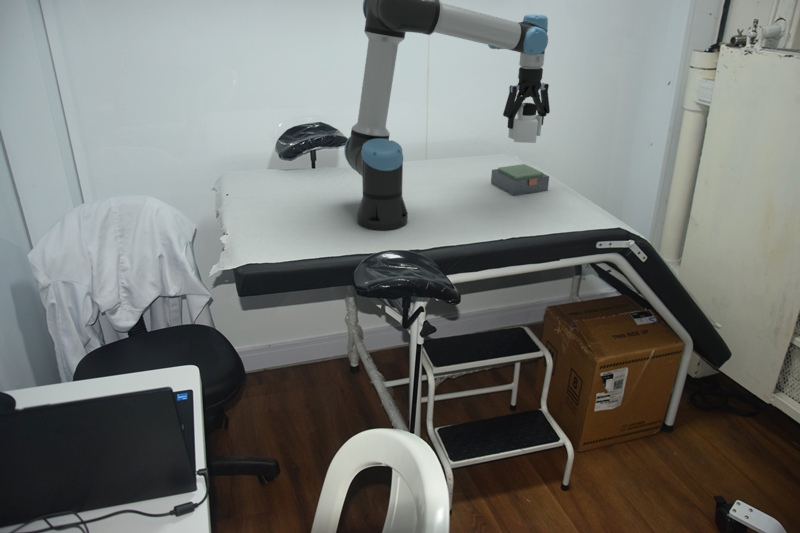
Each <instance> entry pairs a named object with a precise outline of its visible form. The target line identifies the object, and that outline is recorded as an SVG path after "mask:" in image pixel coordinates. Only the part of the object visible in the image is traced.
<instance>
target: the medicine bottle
mask: <svg viewBox="0 0 800 533" xmlns="http://www.w3.org/2000/svg"><path fill="white" fill-rule="evenodd" d="M536 115H537V106H536V105H535V104H534V102H533V103H532V102H523V103H522V105H521V106H520V108H519V110H518V112H517V114H516V116H515V119H517V120H516V131H515V139H513V142H514V143H526V144H527V143H532V144H535V143H536V142H537V137H538V136H537V127H538V121H537V118H536Z"/></svg>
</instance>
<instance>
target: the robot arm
mask: <svg viewBox="0 0 800 533" xmlns="http://www.w3.org/2000/svg"><path fill="white" fill-rule="evenodd" d="M362 12H363V15H364V18H365V25H364V31H363V32H364V34H365V35H366V37H367V38H368V43H367V47H366V48H367V50H366V58H365V65H364V73H363V77H362V78H363V80H362V86H361V95H360V102H359V109H358V116H357V117H358V118H357V123H355V124H354V125H353V126H352V127H351V132H350V136H349V137H348V138H347V139H346V140H345V141H346V142H345V144H344V151H343V152H344V157H345V159H346V161H347V163H348V166H350V167H351V169H353V170H354V171H356V172H357V173H358V174H359V175H360V176H361V178H362V181H361V182H362V198H361V201H360V204H359V207H358V210H357V214H356V219H357V221H356V222H357V224H358V225H359V226H361V227H363V228H365V229H366V228H367V229H370V230H377V231H389V230H395V229H399V228H401V227H404V226H405V225H406V224H407V223H408V222H409V214H408V210H407V207H406V204H405V201H404V198H403V174H404V173H403V171H404V170H403V168H404V166H403V165H404V154H403V148H402V146H401V144H399V143H398V142H397V141H394V140H392V139H391V140H389V139H390V131H389V130H388V129H387V121H388V113H389V108H390V102H391V101H390V100H391V95H392V89H393V88H392V87H393V81H394V74H395V68H396V61H397V55H398V49H399V44H400V43H401V42H403V41H404V40H405V37H406V33H415V34H416V33H417V34H422V35H427V36H431V35H432V34H434V33H437V34H441V35H444V36H448V37H454V38H458V39H462V40H466V41H470V42H474V43H478V44H484V45H487V46H488V48H490V49H491V50H492V49H493V50H509V51H513V52H517V53H520V55H519V63H518V64H519V68H518V76H517V77H518V82H517V83H518V84H516V85H509V86H508V88H509V90H508V96H507V100H506V103H505V107H504V110H503V113H502V115H503V117H504V118H507V129H508V136H507V137H508V138H509V139H511V140H514V139H515V131H516V120H517V119H515V116H517V113H518V110H519V108H520V106H521V105H522V103H524V101H526V99H527V98H530V97H531V98H532V101H533V104H535V105H536V106H537V110H536V118H537V121H538V127H537V136H536V137H540V136H541V132H542V131H541V130H542V126H543V125H544V120H545V118H544V117H546V116H547V115H548V114H550V113H551V110H550V109H551V108H550V101H549V87H550V84H549V83H545V82H541V81H542V79H543V73H544V69H543V67H544V63H545V52H546V49H547V46H548V43H549V36H548V31H549V30H548V26H549V25H548V24H549V19H548V16H547V15H546V14H537V13H536V14H534V13H533V14H531V13H530V14H525V15H524V16H523V19H522V21H520V22H517V21H513V20H509V19H505V18H501V17H498V16H494V15H489V14H486V13H482V12H479V11H474V10H471V9H467V8H463V7H460V6H455V5H451V4H448V3H443V2H442V1H441V0H363V2H362ZM539 91H540V92H539Z"/></svg>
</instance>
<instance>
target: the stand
mask: <svg viewBox="0 0 800 533" xmlns="http://www.w3.org/2000/svg"><path fill="white" fill-rule="evenodd" d="M490 177H491V178H490V179H491V180H490V184H491V185H493V186H495V187H497V188H499V189H501V190H502V191H503V192H505V193H508V194H509V195H511V196H516V197H517V196H521V195H528V194H534V193H539V192H546V191H548V190H549V183H550V182H549V181H550V175H547V174H545V173H544V172H542V171H540V170H538V169H537V168H534V167H532V166H530V165H527V164H525V163H522V164H521V163H520V164H516V165H510V166H509V165H508V166H501V167H497V168H495V169H491V175H490Z"/></svg>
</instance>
